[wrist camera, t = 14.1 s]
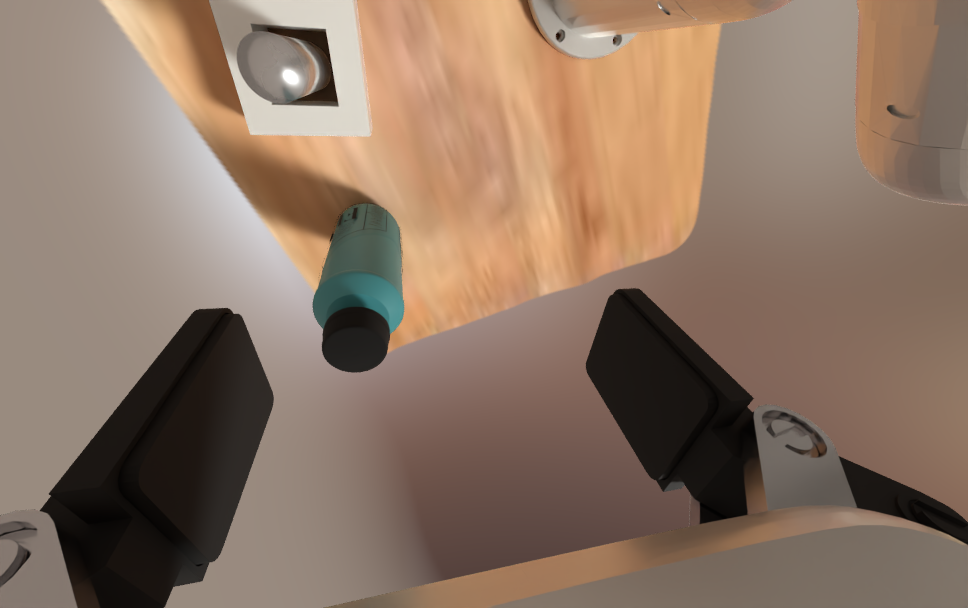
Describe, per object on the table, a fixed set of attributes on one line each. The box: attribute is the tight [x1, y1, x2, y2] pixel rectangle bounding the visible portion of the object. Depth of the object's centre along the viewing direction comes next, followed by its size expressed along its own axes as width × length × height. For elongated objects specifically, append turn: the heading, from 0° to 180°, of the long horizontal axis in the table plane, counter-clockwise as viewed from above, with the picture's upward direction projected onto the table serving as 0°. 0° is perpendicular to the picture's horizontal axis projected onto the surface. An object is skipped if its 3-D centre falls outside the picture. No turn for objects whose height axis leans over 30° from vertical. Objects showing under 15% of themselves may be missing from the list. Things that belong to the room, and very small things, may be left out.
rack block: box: [209, 0, 373, 136], centre depth 27 cm, size 9×9×4 cm
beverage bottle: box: [313, 203, 404, 372], centre depth 29 cm, size 6×7×20 cm
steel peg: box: [237, 31, 331, 104], centre depth 24 cm, size 3×3×11 cm
